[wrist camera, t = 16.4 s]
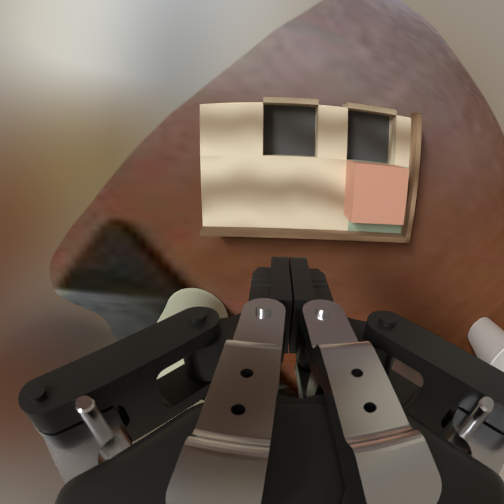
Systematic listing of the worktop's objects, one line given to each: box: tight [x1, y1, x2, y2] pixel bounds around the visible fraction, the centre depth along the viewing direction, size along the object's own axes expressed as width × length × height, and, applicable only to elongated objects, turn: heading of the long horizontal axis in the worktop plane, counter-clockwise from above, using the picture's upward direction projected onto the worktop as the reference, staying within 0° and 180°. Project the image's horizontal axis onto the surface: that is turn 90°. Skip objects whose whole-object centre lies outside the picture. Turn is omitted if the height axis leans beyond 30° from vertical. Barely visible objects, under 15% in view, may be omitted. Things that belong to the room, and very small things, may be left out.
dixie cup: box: [468, 317, 504, 372], centre depth 34 cm, size 8×8×10 cm
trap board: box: [200, 97, 422, 243], centre depth 30 cm, size 15×24×4 cm, turn 90°
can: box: [157, 288, 228, 379], centre depth 35 cm, size 9×9×12 cm
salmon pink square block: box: [343, 160, 409, 225], centre depth 28 cm, size 6×6×4 cm
